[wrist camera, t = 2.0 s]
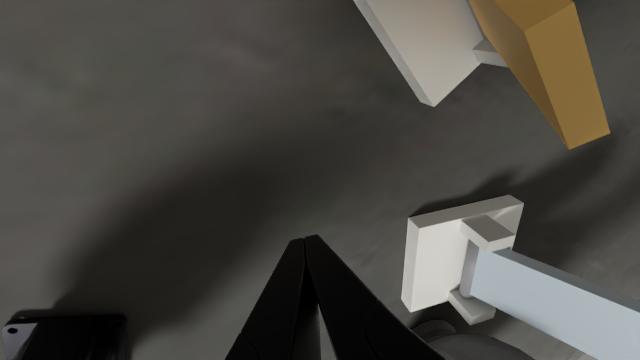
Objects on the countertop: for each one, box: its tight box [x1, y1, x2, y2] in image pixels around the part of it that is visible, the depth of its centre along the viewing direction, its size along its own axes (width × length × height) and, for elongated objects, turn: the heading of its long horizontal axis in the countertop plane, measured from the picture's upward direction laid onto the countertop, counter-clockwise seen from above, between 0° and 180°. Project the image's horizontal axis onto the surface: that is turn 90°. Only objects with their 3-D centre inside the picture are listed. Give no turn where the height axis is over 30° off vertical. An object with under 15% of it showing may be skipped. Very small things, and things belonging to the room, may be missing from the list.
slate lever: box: [459, 239, 640, 360], centre depth 25 cm, size 1×6×12 cm, turn 3°
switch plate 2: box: [401, 195, 524, 325], centre depth 28 cm, size 10×9×5 cm
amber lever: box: [466, 0, 610, 150], centre depth 14 cm, size 1×6×12 cm, turn 40°
